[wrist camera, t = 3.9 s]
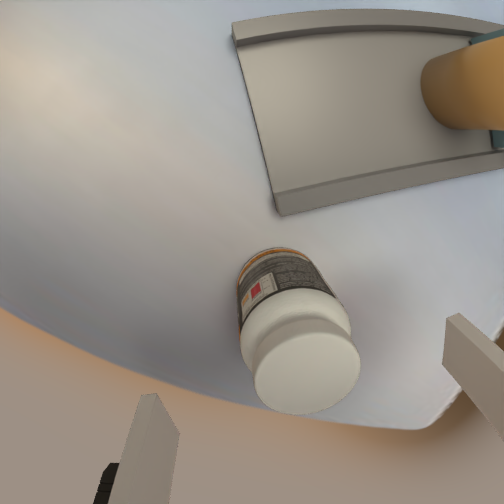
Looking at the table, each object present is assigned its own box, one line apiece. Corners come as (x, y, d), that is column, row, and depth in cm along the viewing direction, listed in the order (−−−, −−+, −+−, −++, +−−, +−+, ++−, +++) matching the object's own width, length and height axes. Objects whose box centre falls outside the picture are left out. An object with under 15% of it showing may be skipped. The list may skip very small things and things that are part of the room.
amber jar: (429, 132, 19) (538, 137, 9) (411, 56, 17) (510, 19, 7) (482, 127, 18) (582, 134, 9) (467, 57, 17) (562, 37, 7)
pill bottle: (219, 292, 22) (211, 390, 13) (274, 227, 21) (307, 293, 11) (281, 334, 23) (307, 437, 14) (335, 277, 22) (395, 361, 13)
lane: (276, 210, 20) (293, 234, 15) (231, 34, 17) (231, -7, 11) (543, 155, 20) (588, 164, 14) (519, 36, 16) (562, 28, 10)
